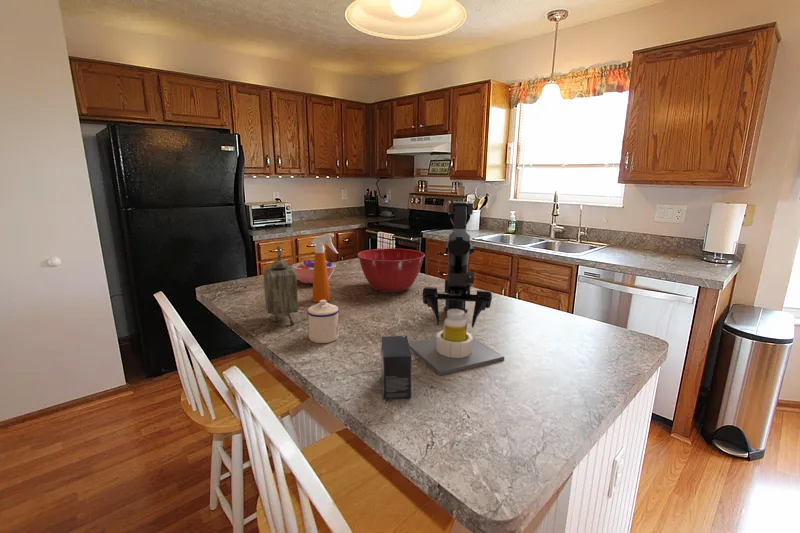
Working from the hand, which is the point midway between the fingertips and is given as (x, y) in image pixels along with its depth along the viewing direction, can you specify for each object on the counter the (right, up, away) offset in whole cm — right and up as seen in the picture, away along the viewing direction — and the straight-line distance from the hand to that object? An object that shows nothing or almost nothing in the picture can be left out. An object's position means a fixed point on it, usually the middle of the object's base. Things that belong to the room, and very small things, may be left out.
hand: (455, 325), depth 102 cm
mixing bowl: (-19, +6, +64) cm, 67 cm away
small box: (-16, -12, -14) cm, 24 cm away
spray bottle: (-44, +3, +46) cm, 64 cm away
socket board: (0, -8, +3) cm, 9 cm away
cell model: (-53, +8, +71) cm, 89 cm away
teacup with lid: (-38, -5, +13) cm, 41 cm away
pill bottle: (0, -7, +3) cm, 8 cm away
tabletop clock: (-54, -2, +25) cm, 60 cm away
